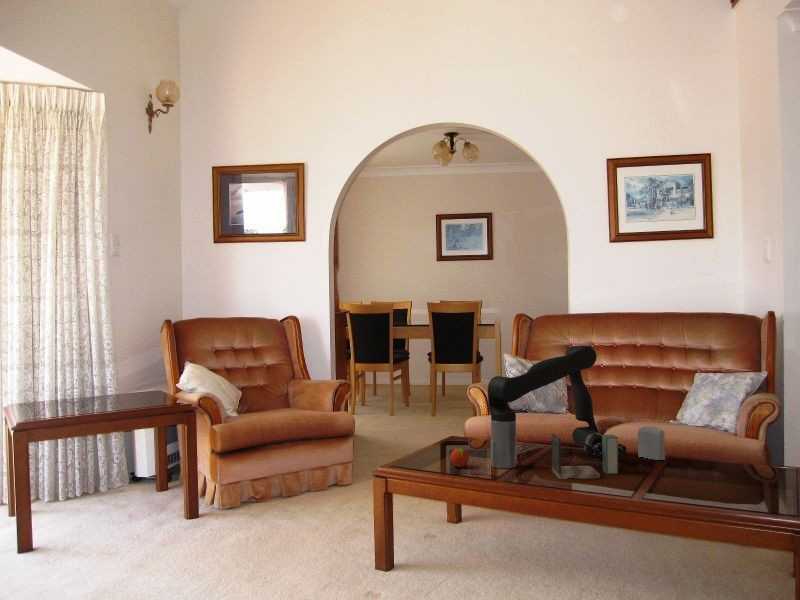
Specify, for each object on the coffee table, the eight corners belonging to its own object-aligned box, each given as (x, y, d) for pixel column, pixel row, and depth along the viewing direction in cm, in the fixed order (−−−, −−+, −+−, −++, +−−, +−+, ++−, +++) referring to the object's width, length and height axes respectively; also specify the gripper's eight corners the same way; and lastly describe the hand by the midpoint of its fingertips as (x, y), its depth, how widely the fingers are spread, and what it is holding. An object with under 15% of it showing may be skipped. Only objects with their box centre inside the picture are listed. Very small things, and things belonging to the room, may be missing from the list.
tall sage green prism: (607, 474, 244) (606, 437, 244) (602, 470, 249) (602, 434, 249) (618, 474, 244) (617, 437, 244) (613, 470, 249) (613, 434, 249)
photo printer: (636, 457, 269) (635, 425, 270) (642, 455, 272) (642, 424, 272) (660, 462, 262) (660, 429, 262) (666, 460, 264) (666, 427, 264)
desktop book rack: (559, 478, 239) (558, 439, 239) (551, 470, 251) (551, 433, 251) (600, 478, 239) (599, 439, 239) (590, 469, 251) (589, 432, 251)
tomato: (471, 469, 255) (471, 449, 255) (453, 470, 253) (453, 450, 253) (466, 464, 262) (466, 445, 262) (448, 465, 261) (448, 446, 261)
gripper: (578, 434, 262) (590, 443, 246) (616, 433, 262) (630, 442, 246) (579, 454, 262) (591, 464, 246) (616, 453, 262) (631, 463, 246)
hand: (611, 453), depth 246 cm, fingers open, 8 cm apart
